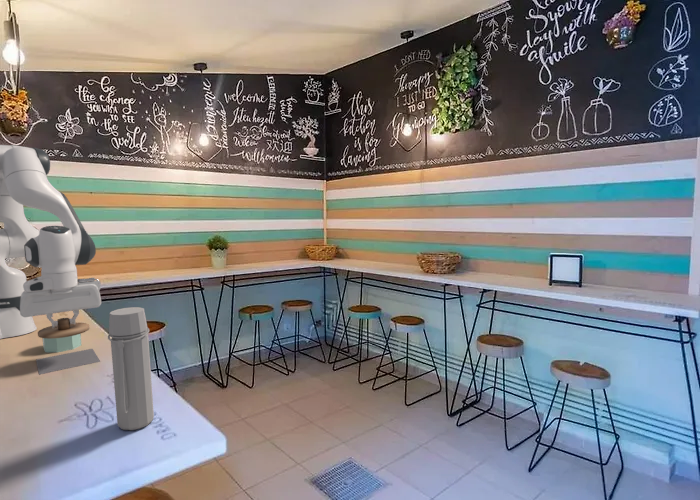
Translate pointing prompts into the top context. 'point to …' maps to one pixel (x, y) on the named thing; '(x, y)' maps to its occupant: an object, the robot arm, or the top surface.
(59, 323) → the walnut lid
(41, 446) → the top surface
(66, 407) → the top surface
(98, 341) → the top surface
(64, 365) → the rubber mat
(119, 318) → the water bottle
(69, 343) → the ceramic bowl
